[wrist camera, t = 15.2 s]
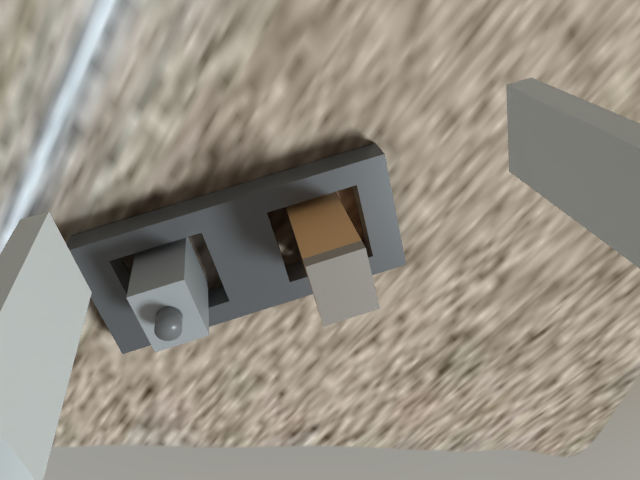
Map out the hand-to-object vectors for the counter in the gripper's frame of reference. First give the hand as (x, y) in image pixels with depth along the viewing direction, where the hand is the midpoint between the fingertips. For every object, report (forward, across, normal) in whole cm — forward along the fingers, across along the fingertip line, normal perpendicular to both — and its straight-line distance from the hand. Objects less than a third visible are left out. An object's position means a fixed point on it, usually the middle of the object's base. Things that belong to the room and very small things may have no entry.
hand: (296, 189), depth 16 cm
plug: (+25, +3, -15) cm, 29 cm away
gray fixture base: (+25, -3, -15) cm, 29 cm away
